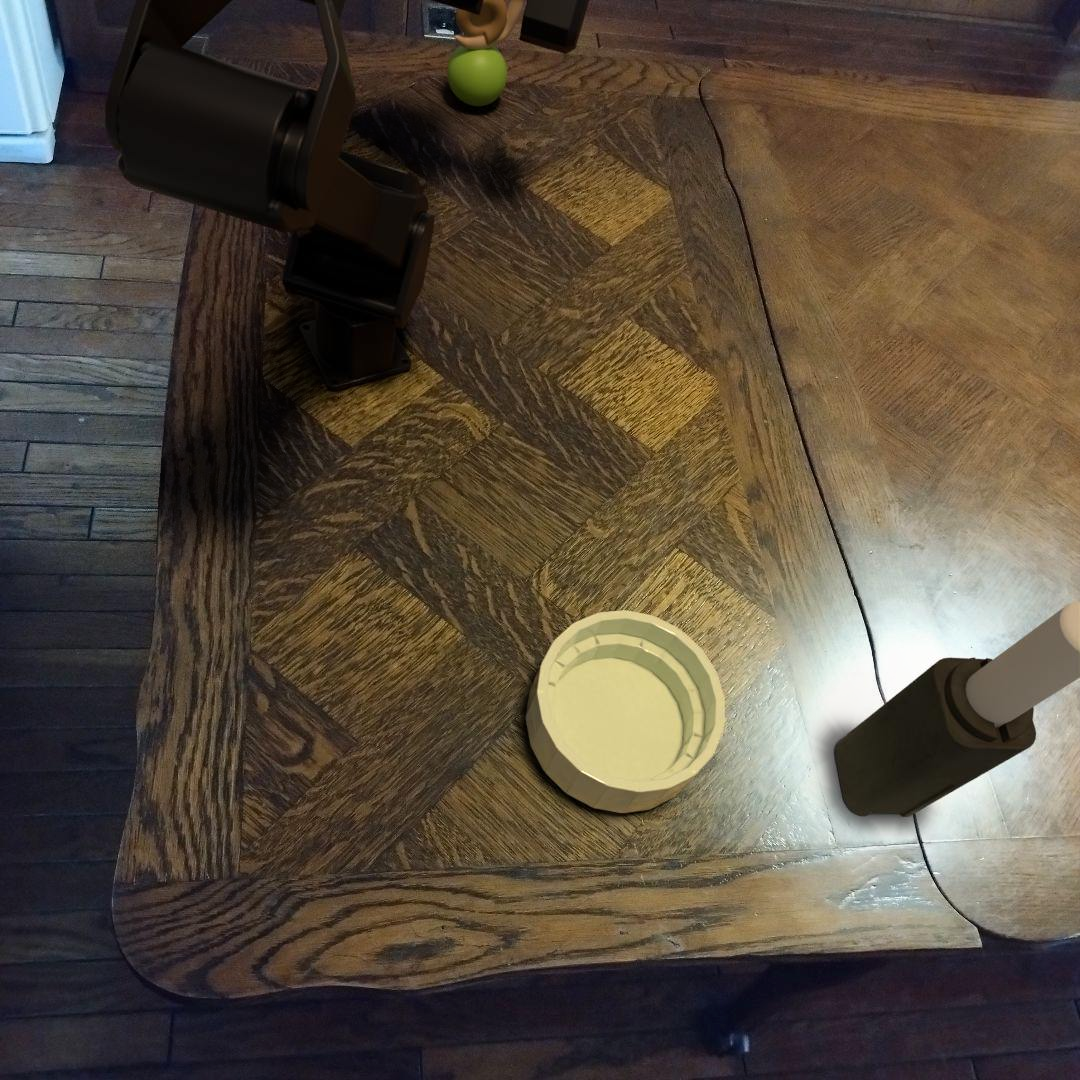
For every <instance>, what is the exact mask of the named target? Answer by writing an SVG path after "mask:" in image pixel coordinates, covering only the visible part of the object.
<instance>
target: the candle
mask: <svg viewBox="0 0 1080 1080" xmlns="http://www.w3.org/2000/svg"><path fill="white" fill-rule="evenodd" d="M1078 679H1080V600H1076V601H1073V602H1070V603H1068V604H1066V605H1065V606H1064V607H1062V608H1060V609H1059V610H1058V611H1057V612H1055V613H1054V614H1052V615H1051V616H1050V617H1049V618H1047V619H1046V620H1045V621H1043V622H1042V623H1041V624H1039V625H1037V626H1036V627H1035V628H1033V629H1032V630H1031V631H1029V633H1027V634H1025V635H1024V636H1023V637H1022V638H1020V639H1019V640H1017V641H1016V642H1014V643H1013V644H1012V645H1011V646H1009V647H1008V648H1007V649H1005V650H1004V651H1002V652H1001V653H1000V654H998V655H997V656H996V657H995V658H989V657H985V658H976V657H969V658H968V657H942V658H940V659H938V660H937V661H936V662H934V664H932V665H931V666H929V668H927V669H925V671H924V672H922V673H921V674H920V675H918V677H916V678H915V679H914V680H913V681H911V682H910V683H908V685H906V686H905V687H904V688H902V689H901V690H900V691H899V692H898V693H896V694H895V695H894V696H892V697H891V698H890V699H889V700H888V701H886V702H885V703H884V704H883V705H881V706H880V707H879V708H878V709H877V710H875V711H874V712H872V713H871V714H870V715H869V716H868V717H867V718H865V719H864V720H863V721H861V722H860V723H859V724H858V725H856V726H855V727H853V729H852V730H850V731H849V732H848V733H847V734H846V735H844V736H843V737H842V738H840V739H839V740H838V741H837V742H836V744H835V746H834V758H835V764H836V769H837V774H838V778H839V784H840V788H841V795H842V798H843V801H844V804H845V805H846V807H847V808H848V809H849V810H850V811H851V812H852V813H854V814H855V815H857V816H860V817H867V816H868V815H870V814H893V815H895V814H897V815H899V814H900V815H901V816H902V817H904V818H905V817H910V816H912V815H914V814H916V813H918V812H920V811H922V810H923V809H925V808H927V807H928V806H930V805H932V804H934V803H935V802H937V801H939V800H941V799H943V798H944V797H945V796H948V795H950V794H951V793H953V792H955V791H956V790H958V789H960V788H962V787H964V786H966V785H967V784H969V783H971V782H972V781H974V780H975V779H977V778H979V777H981V776H983V775H984V774H986V773H988V772H989V771H991V770H993V769H996V767H998V766H1000V765H1001V764H1003V763H1005V762H1007V761H1009V760H1011V759H1012V758H1014V757H1016V756H1017V755H1019V754H1021V753H1023V752H1024V751H1027V750H1028V749H1030V748H1031V747H1032V746H1033V745H1034V744H1035V741H1036V740H1037V730H1036V726H1035V723H1034V714H1035V713H1034V711H1035V708H1034V707H1036V706H1037V705H1039V704H1040V703H1042V702H1043V701H1045V700H1047V699H1049V698H1051V696H1053V695H1055V694H1056V693H1058V692H1059V691H1061V690H1062V689H1065V688H1066V687H1067V686H1069V685H1071V684H1072V683H1074V682H1076V681H1077V680H1078Z"/></svg>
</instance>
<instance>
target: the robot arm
mask: <svg viewBox="0 0 1080 1080" xmlns="http://www.w3.org/2000/svg"><path fill="white" fill-rule="evenodd" d="M232 1H233V0H135V2H134V3H135V4H134V7H133V10H132V13H131V16H130V20H129V23H128V25H127V26H128V27H127V28H126V32H125V35H124V39H123V42H122V45H121V48H120V52H119V55H118V58H117V62H116V65H115V68H114V72H113V75H112V77H111V81H110V84H109V88H108V90H107V91H108V92H107V95H106V101H105V106H104V109H105V110H104V126H105V130H106V135H107V139H108V141H109V143H110V145H111V146H112V148H113V149H114V151H117V152H119V153H120V154H119V156H118V157H117V158H116V162H115V163H116V166H117V168H118V170H119V172H120V173H121V175H122V177H123V179H125V180H126V181H127V182H128V183H130V184H131V185H132V186H134V187H137V188H141V189H144V190H147V191H149V192H153V193H156V194H160V195H163V196H165V197H169V198H171V199H172V198H173V199H176V200H178V201H182V202H185V203H189V204H192V205H195V206H198V207H201V208H204V209H208V210H211V211H214V212H218V213H221V214H224V215H228V216H229V217H234V218H237V219H240V220H243V221H246V222H249V223H252V224H256V225H259V226H263V227H265V228H269V229H272V230H275V231H279V232H282V233H286V234H287V233H290V235H289V240H288V246H287V255H286V259H285V265H284V269H283V273H282V276H281V282H282V284H283V288H284V290H285V293H286V294H288V295H291V296H300V297H303V298H306V299H310V300H312V301H314V316H315V319H313V320H309V321H305V322H302V323H301V324H300V325H299V334H300V335H301V337H302V339H303V341H304V343H305V345H306V347H307V349H308V351H309V353H310V354H311V355H310V356H312V358H313V360H314V363H315V364H316V366H317V369H318V370H319V372H320V374H321V376H322V377H323V380H324V381H325V383H326V386H327V387H328V388H329V389H330V390H331V391H340V390H343V389H347V388H350V387H353V386H357V385H360V384H364V383H367V382H368V383H369V382H371V381H374V380H378V379H382V378H385V377H388V376H392V375H395V374H399V373H403V372H405V371H406V372H407V371H408V370H410V369H411V368H412V364H413V363H412V359H411V358H410V356H409V353H407V351H406V349H405V347H404V345H403V344H402V342H401V340H400V338H399V336H398V335H397V333H396V328H398V329H401V330H404V328H405V326H406V324H407V321H408V319H409V317H410V315H411V313H412V311H413V308H414V306H415V304H416V302H417V300H418V298H419V296H420V293H421V291H422V289H423V287H424V283H425V278H426V272H427V267H428V262H429V257H430V251H431V245H432V240H433V234H434V229H435V216H434V215H433V214H432V213H429V212H428V211H429V207H430V206H429V200H428V198H427V196H426V194H424V192H425V190H426V187H427V182H424V181H422V180H420V179H419V178H418V176H417V175H416V174H414V173H413V172H411V171H409V170H407V169H403V168H400V167H396V166H393V165H390V164H387V163H384V162H381V161H377V160H374V159H371V158H367V157H364V156H361V155H359V154H355V153H351V152H349V151H345V150H342V148H343V146H344V143H345V139H346V136H347V132H348V130H349V126H350V122H351V120H352V117H353V113H354V110H355V107H356V104H357V103H356V102H357V101H356V100H357V93H356V89H355V84H354V81H353V80H354V79H353V76H352V71H351V66H350V62H349V58H348V53H347V50H346V45H345V41H344V36H343V32H342V28H341V24H340V22H341V21H340V20H341V17H342V12H343V10H344V7H345V4H346V1H347V0H298V1H299V2H303V3H306V4H309V5H312V6H315V9H316V12H317V18H318V21H319V25H320V30H321V35H322V39H323V43H324V48H325V52H326V57H327V59H326V63H325V67H324V70H323V73H322V76H321V78H320V82H319V86H318V88H317V90H316V89H312V88H310V87H307V86H304V85H301V84H298V83H294V82H292V81H288V80H285V79H282V78H280V77H279V78H278V77H276V76H273V75H269V74H267V73H262V72H260V71H256V70H253V69H250V68H248V67H244V66H241V65H237V64H234V63H231V62H228V61H225V60H222V59H219V58H215V57H212V56H210V55H205V54H203V53H199V52H197V51H193V50H190V49H187V48H184V46H185V45H186V43H188V42H189V41H190V40H191V39H192V38H193V37H195V36H196V34H197V33H199V32H200V31H201V30H202V29H203V28H204V27H206V25H208V24H209V22H211V21H212V20H213V19H214V18H215V17H216V16H218V14H219V13H220V12H221V11H223V10H224V9H225V8H226V7H228V5H230V3H231V2H232ZM431 1H432V2H436V3H438V4H442V5H445V6H449V7H451V8H455V9H457V8H458V9H461V10H464V11H467V12H470V13H474V14H477V15H480V11H481V8H482V4H483V0H431ZM589 3H590V0H526V2H525V6H524V11H523V14H522V18H521V19H522V20H521V26H520V33H519V34H520V35H519V38H518V40H519V41H521V42H523V43H527V44H530V45H533V46H536V47H539V48H542V49H547V50H549V51H554V52H557V53H560V54H564V55H567V54H569V53H570V52H572V51H574V50H575V49H576V48H577V45H578V41H579V37H580V35H581V30H582V28H583V24H584V20H585V17H586V13H587V11H588V8H589V7H588V6H589Z"/></svg>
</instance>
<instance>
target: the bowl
mask: <svg viewBox="0 0 1080 1080" xmlns="http://www.w3.org/2000/svg"><path fill="white" fill-rule="evenodd" d="M725 719H726V698H725V694H724V692H723V688H722V684H721V681H720V677H719V674H718V672H717V670H716V668H715V667H714V665H713V664H712V662H711V661H710V659H709V657H708V655H707V654H706V653H705V651H704V650H703V648H702V647H701V646H700V645H699V644H698V643H696V642H695V641H694V640H693V639H692V638H691V637H690V636H689V635H687V634H686V633H685V632H684V630H682V629H680V628H679V627H677V626H675V625H673V624H671V623H670V622H667V621H665V620H663V619H662V618H660V617H657V616H655V615H652V614H648V613H643V612H637V611H633V610H628V609H623V610H612V611H600V612H596V613H593V614H591V615H589V616H586V617H584V618H582V619H579V620H577V621H574V622H573V623H571V624H570V625H569V626H568V627H567V628H566V629H565V630H563V632H562V633H560V634H559V635H558V636H556V637H555V639H554V640H553V641H552V642H551V644H550V646H549V648H548V650H547V652H546V654H545V656H544V658H543V660H542V661H541V663H540V665H539V668H538V670H537V673H536V675H535V677H534V681H533V682H532V685H531V688H530V690H529V693H528V699H527V707H526V711H525V721H526V727H527V728H526V729H527V734H528V738H529V739H528V740H529V745H530V747H531V749H532V751H533V753H534V755H535V757H536V759H537V761H538V763H539V764H540V767H541V769H542V770H543V772H545V774H546V775H547V776H548V777H549V778H550V779H551V780H552V781H553V782H554V783H555V784H556V785H557V786H558V787H559V789H561V790H562V791H563V792H564V793H566V794H567V795H568V796H570V797H572V798H574V799H575V800H577V801H580V802H581V803H583V804H585V805H587V806H589V807H591V808H593V809H598V810H604V811H608V812H614V813H618V814H627V813H634V812H640V811H641V812H642V811H648V810H649V811H650V810H652V809H654V808H656V807H658V806H659V805H661V804H664V803H666V802H667V801H669V800H671V799H673V798H675V797H676V796H677V795H678V794H679V793H680V792H681V791H682V790H683V789H684V788H686V786H687V785H688V784H689V783H690V781H692V780H693V778H695V776H696V775H697V774H698V773H700V771H701V770H702V769H703V768H704V767H705V766H706V764H708V762H709V761H710V760H711V759H712V758H713V757H714V755H715V754H716V751H717V749H718V746H719V744H720V742H721V740H722V739H721V738H722V736H723V734H724V732H725Z"/></svg>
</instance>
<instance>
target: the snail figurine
mask: <svg viewBox="0 0 1080 1080" xmlns="http://www.w3.org/2000/svg"><path fill="white" fill-rule="evenodd" d="M509 1H510V2H509V4H508V6H507V5H506V2H505V0H483V4H482V8H481V11H480V15H477V14H474V13H470V12H467V11H464V10H461V9H458V8H456V12H455V23H456V25H457V27H458V29H459V30H460V31H461V32H462V33H463V34H455V35H454V39H455V41H456V42H457V43H458V45H459V46H457V47H456V48H455V49H454V51H453V52H452V53H451V55H450V57H449V60H448V63H447V68H446V74H447V75H446V76H447V81H448V85H449V88H450V89H451V91H452V93H453V94H454V95H455V97H456V98H457V99H459V100H460V101H461V102H462V103H464V104H466V105H469V106H474V107H484V106H488V105H490V104H492V103H494V102H495V101H496V100H497V99H498V98H499V97H500V96H501V95H502V94H503V92H504V90H505V87H506V85H507V81H508V67H507V64H506V59H505V58H504V56H503V54H502V53H501V52H500V50H499V49H498V48H497V47H496V45H498V44H500V43H502V42H503V41H505V40H506V39H507V38H508V37H509V36H510V35H511V33H512V32H513V30H514V28H515V26H516V25H517V22H518V20H519V17H520V15H521V12H522V9H523V7H524V2H525V0H509Z"/></svg>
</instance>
